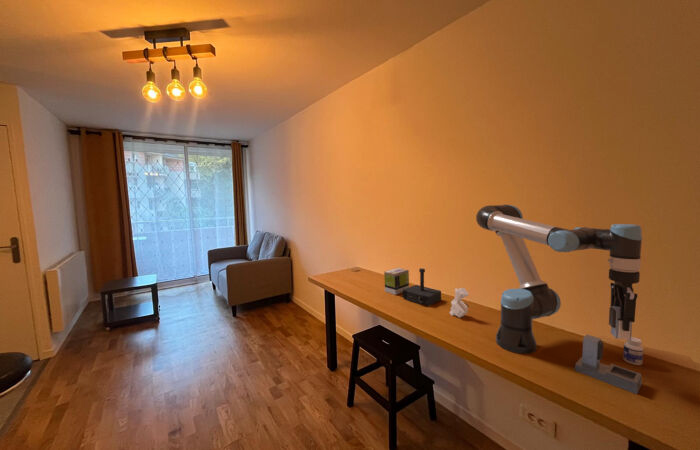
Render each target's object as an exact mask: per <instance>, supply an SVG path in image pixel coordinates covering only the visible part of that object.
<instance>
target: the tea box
mask: <svg viewBox="0 0 700 450" xmlns="http://www.w3.org/2000/svg"><path fill="white" fill-rule="evenodd" d="M409 271H410V270H409V269H407V268H401V267H395V268H393V269H388V270H385V271H383V274H384V292H385V293H387V292H388V294H390V293H391V295H394V296H396V295H399V294H403V289H406V288H409V287H410V272H409Z"/></svg>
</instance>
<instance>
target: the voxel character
mask: <svg viewBox="0 0 700 450" xmlns="http://www.w3.org/2000/svg"><path fill="white" fill-rule="evenodd" d="M469 294H470V293H469V292H468V290H467V289H466V288H465V287H460V288H454V298H453V299H452V300H451V302H450V303H451V307H450V311H449V312H448V313H449V314H450V315H451V317H452V316H455V317H456V316H457V317H458V319H460V318H463V317H464V316H466V315H467V314H468V312H469V310H468V309H469V307H468V305H466V304H465V303H464V301H463V299H465V298H466V297H468V296H469Z"/></svg>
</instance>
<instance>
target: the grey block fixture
mask: <svg viewBox="0 0 700 450" xmlns="http://www.w3.org/2000/svg"><path fill="white" fill-rule="evenodd" d="M603 353H604V341H603V340H602V338H600V337H596V336H593V335H590V334H586V335H584V336H583V339H582V356H581V357H580V358H579V359H578V361H576V362H575V365H574V371H575V372H577V373H580V374H583V375H584V376H587V377H591V378H593V379H595V380H599V381H601V382H604V383H607V384H609V385H611V386H614V387H616V388H619V389H622V390H623V391H627V392H629V393H633V394H634V395H638V393H639V391H640V389H641V387H642V384H643V383H642V381H643V377H642V373H640V372H636V371H634V370H630V369H628V368H625V367H621V366H619V365H616V364H613V363H610V364H609V365H607V364H605V363H604V364H603V363H601V362H600V361H602V358H604V357H603V355H604V354H603Z"/></svg>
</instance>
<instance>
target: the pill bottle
mask: <svg viewBox="0 0 700 450" xmlns="http://www.w3.org/2000/svg"><path fill="white" fill-rule="evenodd" d="M642 342H643V341H642V339H639V338H637V337H634V336H631V340H626V341H625V342H624V343H623V353H622V354H623V357H622V359H623V361H625V362H627V363H629V364H631V365H635V366H641V365H643V363H644V362H643V359H644V346H642V344H643V343H642Z"/></svg>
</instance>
